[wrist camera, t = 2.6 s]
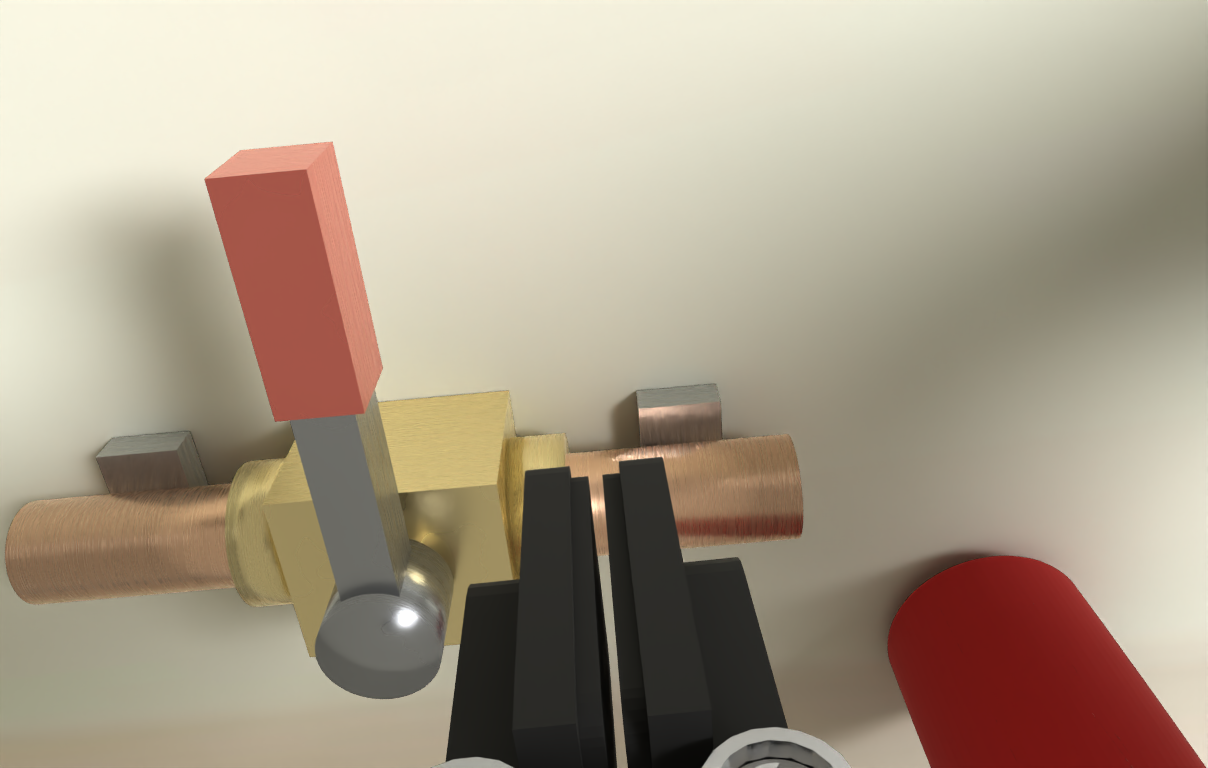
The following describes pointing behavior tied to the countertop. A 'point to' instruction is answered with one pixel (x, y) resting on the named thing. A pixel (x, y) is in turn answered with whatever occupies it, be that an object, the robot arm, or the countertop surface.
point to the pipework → (427, 494)
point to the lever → (332, 411)
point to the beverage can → (1023, 675)
